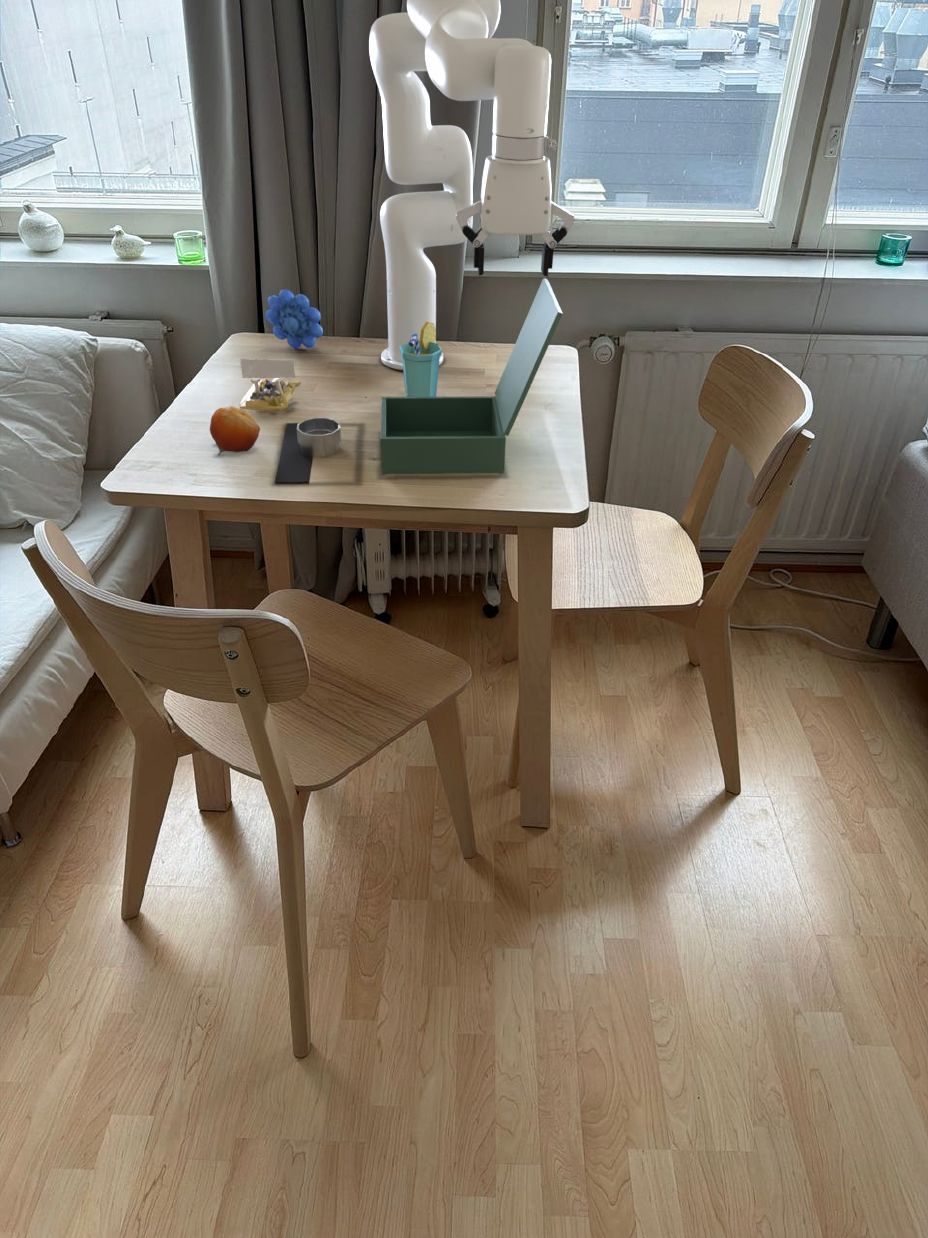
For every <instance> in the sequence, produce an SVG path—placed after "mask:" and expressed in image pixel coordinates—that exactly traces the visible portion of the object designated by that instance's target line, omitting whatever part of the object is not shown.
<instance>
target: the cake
mask: <svg viewBox="0 0 928 1238" xmlns="http://www.w3.org/2000/svg"><path fill="white" fill-rule="evenodd" d="M239 361H240V368H241V375H242V378H243V379H250V383H252V385H251V386H250V387H249V389H248V391H247V392H246V393H245V395H244V397H242V398H241V400H240V402H239V404H238V405H239V409H242V410H249V411H261V412H262V411H263V412H271V413H272V412H273V413H274V412H281V411H285V410H287V409H288V408H289V407H288V405H289V404H290V402H292V397H293V394H294V392H295V389H296V388H298V387H299V386H300V385H301V384H302V382H301V381H300V380H286V379H287V378H292V379H293V378H294V379H295V378H296V372H295V371H296V370H295V362H294V361H295V360H294V359H290V360H289V359H288V360H287V359H285V360H283V359H266V358H263V359H257V358H256V359H254V358H253V359H249V358H248V359H247V358H240V359H239ZM284 378H286V379H284ZM365 398H366V399H367V398H368V396H364V399H365Z"/></svg>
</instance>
